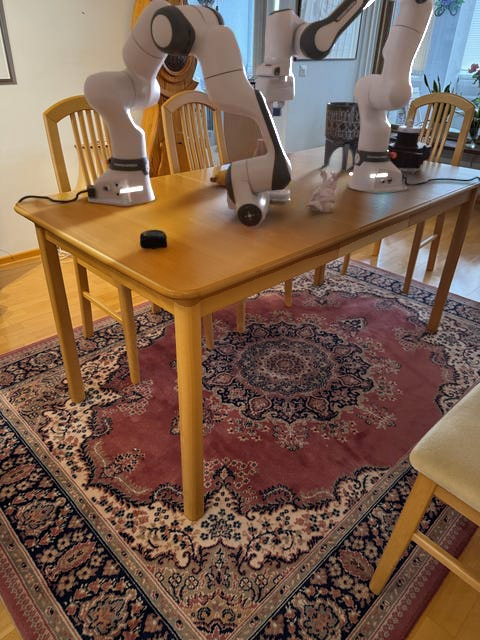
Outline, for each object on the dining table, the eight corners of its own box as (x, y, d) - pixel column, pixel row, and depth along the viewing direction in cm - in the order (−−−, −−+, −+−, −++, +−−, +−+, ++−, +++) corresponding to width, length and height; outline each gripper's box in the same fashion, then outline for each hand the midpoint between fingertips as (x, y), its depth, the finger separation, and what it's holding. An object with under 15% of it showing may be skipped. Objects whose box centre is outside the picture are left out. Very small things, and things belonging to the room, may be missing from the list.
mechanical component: (377, 119, 195) (405, 114, 215) (369, 169, 206) (397, 160, 225) (427, 124, 183) (452, 118, 203) (415, 177, 194) (441, 167, 213)
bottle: (268, 205, 154) (272, 139, 143) (265, 209, 149) (268, 141, 139) (253, 203, 155) (255, 138, 144) (249, 208, 151) (251, 140, 140)
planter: (313, 167, 208) (319, 103, 195) (331, 160, 222) (338, 101, 209) (353, 173, 199) (362, 107, 185) (369, 166, 213) (379, 104, 199)
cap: (271, 114, 155) (271, 106, 154) (283, 115, 153) (284, 107, 152) (265, 115, 152) (265, 107, 150) (277, 116, 150) (278, 108, 149)
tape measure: (140, 252, 115) (139, 238, 113) (141, 242, 120) (140, 229, 119) (167, 251, 116) (166, 237, 114) (167, 241, 121) (166, 228, 120)
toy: (207, 178, 170) (214, 169, 182) (213, 195, 173) (220, 184, 185) (234, 169, 167) (240, 160, 179) (240, 186, 169) (245, 176, 182)
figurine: (341, 207, 153) (346, 168, 147) (322, 218, 142) (326, 176, 136) (319, 203, 157) (323, 165, 150) (299, 213, 146) (302, 173, 140)
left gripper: (290, 191, 136) (292, 181, 147) (223, 188, 138) (230, 177, 150) (289, 212, 139) (290, 200, 151) (223, 208, 141) (230, 196, 153)
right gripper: (284, 69, 155) (281, 113, 162) (252, 69, 140) (250, 117, 147) (300, 69, 152) (297, 114, 159) (270, 69, 137) (267, 119, 144)
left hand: (260, 189), depth 150 cm, fingers closed on bottle, 5 cm apart
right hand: (274, 116), depth 153 cm, fingers closed on cap, 4 cm apart
